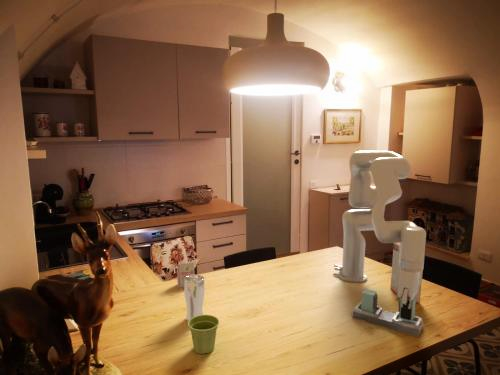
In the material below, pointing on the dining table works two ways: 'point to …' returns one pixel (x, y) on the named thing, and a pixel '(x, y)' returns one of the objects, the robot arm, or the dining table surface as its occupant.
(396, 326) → the grey compartment tray
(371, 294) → the teal rectangular block
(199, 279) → the beer glass
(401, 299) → the pale teal block
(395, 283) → the cracker box
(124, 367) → the dining table surface
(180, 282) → the tea bag
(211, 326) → the plant pot
